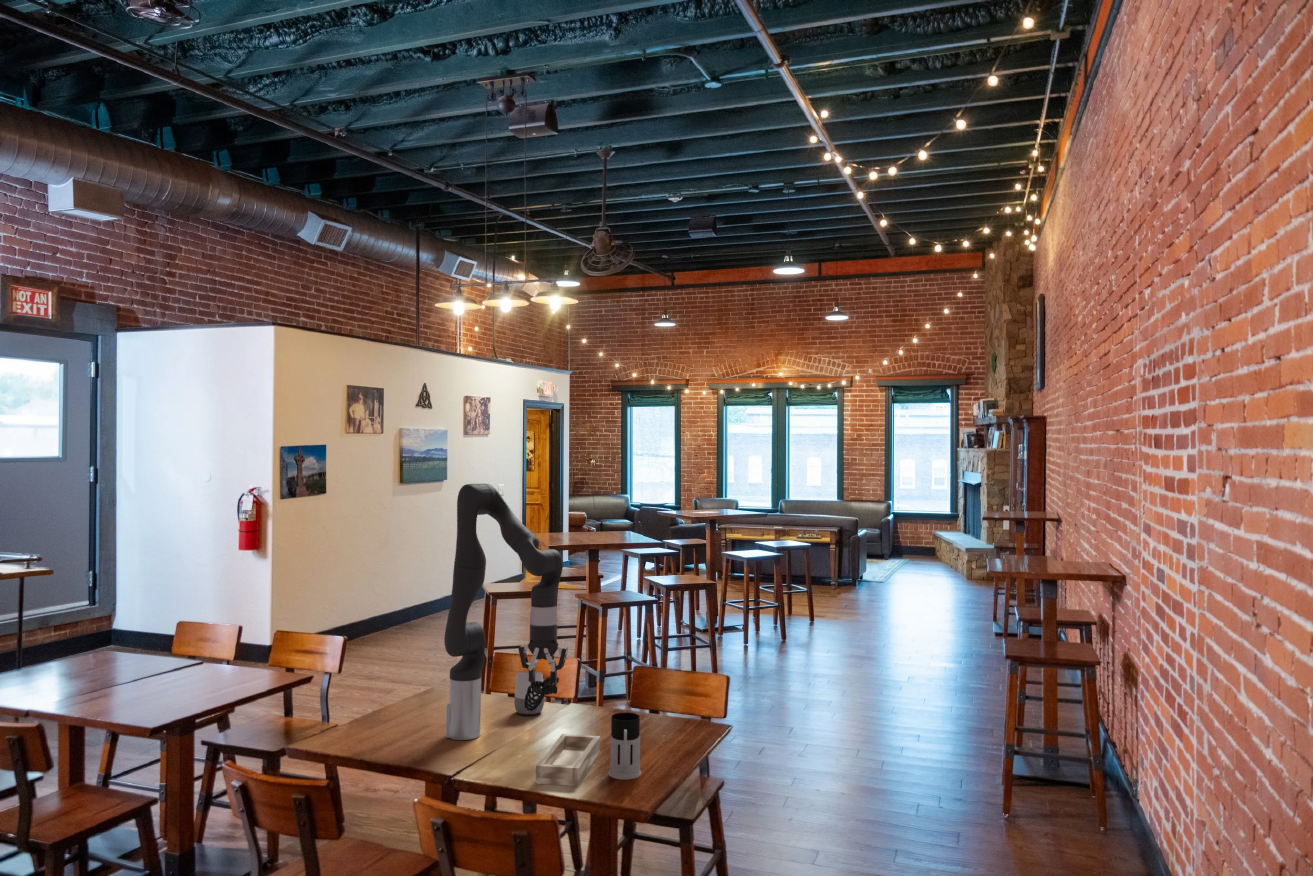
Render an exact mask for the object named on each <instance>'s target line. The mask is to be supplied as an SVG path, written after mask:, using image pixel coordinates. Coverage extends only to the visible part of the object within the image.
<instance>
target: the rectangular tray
mask: <svg viewBox="0 0 1313 876" xmlns="http://www.w3.org/2000/svg"><path fill="white" fill-rule="evenodd" d="M600 748H601V736H600V735H587V734H585V735H584V734H568V733H567V734H565V733H562V734H560V736H559V737H558V738H557V739H556V741H555V742H554V743H553V744H552V745H551V747H550V748H549V750H547V752H546V753H545V754H544V755H543V757H542V758H541V759H540V760H539V761H538V762H537V764H536V766H535V784H539V785H550V786H551V785H554V786H555V785H556V786H570V787H571V786H572V787H579V786H580V785H581V782H582V781H583V779H584V778H585V776H586V774H587V773H588V772H589V770H590V768H591V767H592V765H593V763H595V761H596V759H597V757H598V756H599V755H600V753H601V752H600V750H601V749H600Z"/></svg>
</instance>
